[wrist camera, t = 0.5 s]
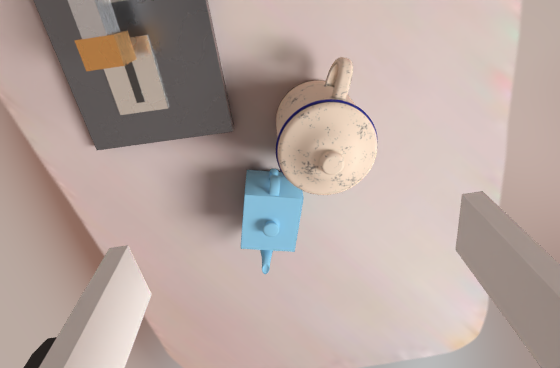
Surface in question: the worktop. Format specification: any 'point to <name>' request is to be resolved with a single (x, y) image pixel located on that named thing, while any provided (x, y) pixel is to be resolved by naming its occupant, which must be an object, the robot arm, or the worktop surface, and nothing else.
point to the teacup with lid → (324, 135)
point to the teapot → (270, 214)
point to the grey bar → (100, 35)
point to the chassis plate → (147, 73)
